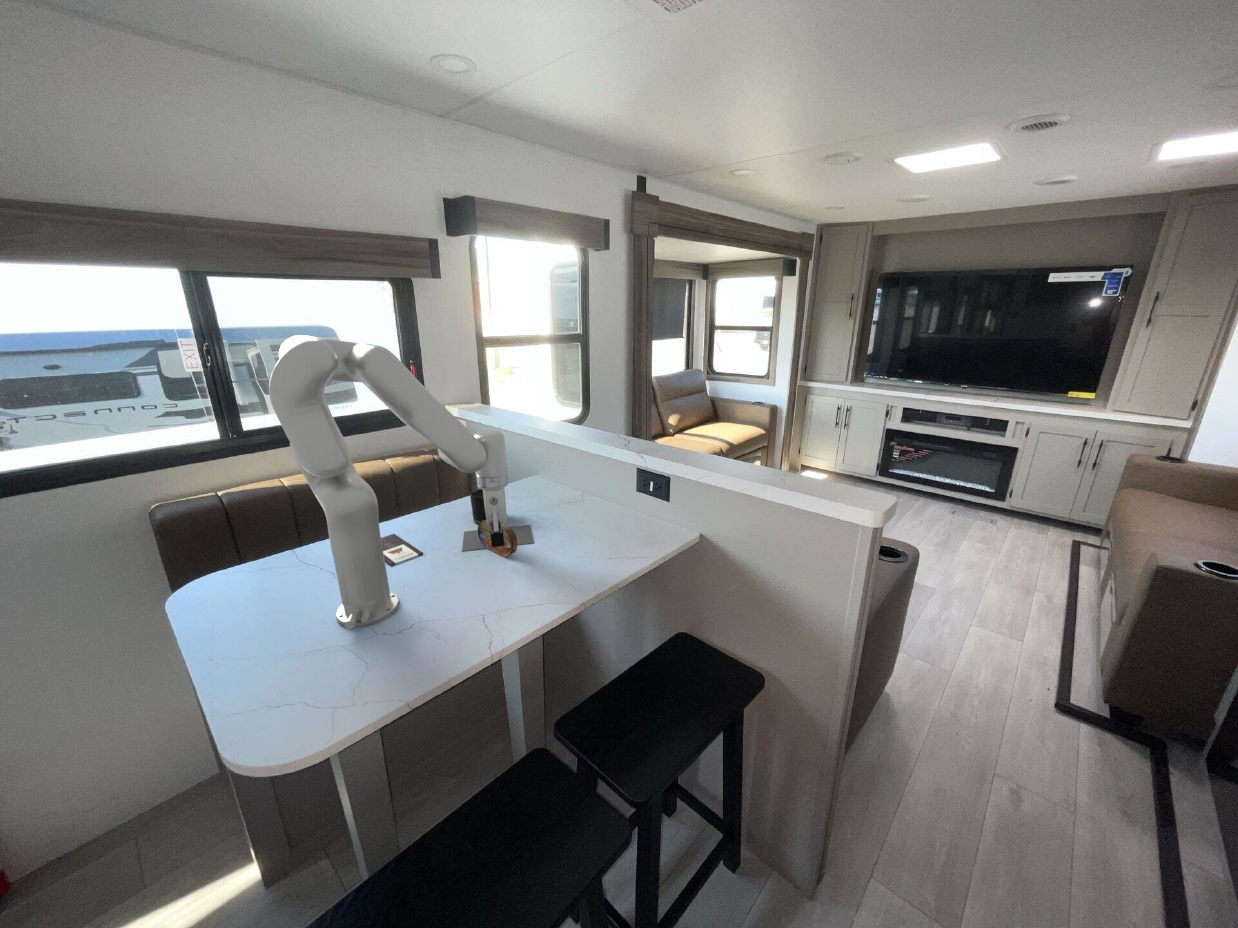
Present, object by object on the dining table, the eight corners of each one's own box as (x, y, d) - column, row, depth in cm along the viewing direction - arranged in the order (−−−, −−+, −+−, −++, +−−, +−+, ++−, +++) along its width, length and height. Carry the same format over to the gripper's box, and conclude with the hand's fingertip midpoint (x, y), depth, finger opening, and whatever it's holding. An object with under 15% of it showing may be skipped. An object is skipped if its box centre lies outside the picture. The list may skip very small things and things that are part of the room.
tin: (477, 543, 139) (475, 517, 136) (487, 539, 142) (484, 513, 139) (511, 561, 130) (509, 533, 128) (520, 556, 133) (518, 529, 130)
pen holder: (472, 516, 158) (469, 488, 155) (501, 513, 161) (499, 485, 158) (472, 528, 150) (470, 498, 147) (503, 524, 153) (501, 495, 150)
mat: (533, 543, 140) (533, 542, 140) (462, 551, 135) (461, 550, 135) (530, 525, 152) (530, 524, 152) (464, 532, 147) (464, 531, 147)
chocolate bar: (394, 533, 145) (423, 552, 134) (394, 536, 145) (423, 555, 134) (362, 543, 139) (390, 564, 127) (363, 546, 139) (391, 567, 128)
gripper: (508, 488, 115) (513, 556, 121) (506, 469, 129) (511, 531, 135) (476, 491, 114) (482, 560, 119) (477, 471, 127) (483, 534, 133)
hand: (497, 544), depth 127 cm, fingers closed
